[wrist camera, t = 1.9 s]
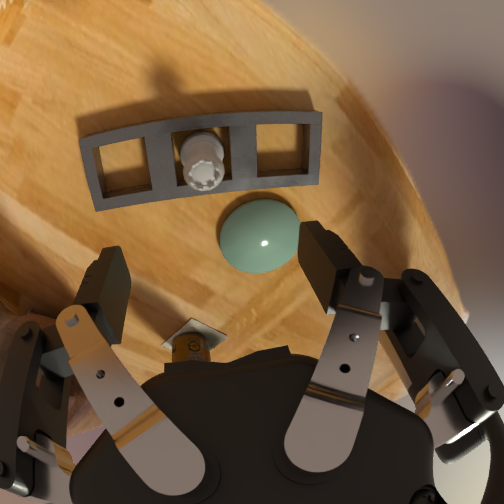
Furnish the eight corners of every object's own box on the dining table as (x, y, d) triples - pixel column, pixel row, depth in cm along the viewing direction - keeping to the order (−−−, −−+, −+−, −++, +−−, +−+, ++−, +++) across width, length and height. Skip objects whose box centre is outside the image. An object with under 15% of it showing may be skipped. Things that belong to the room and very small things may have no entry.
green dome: (302, 195, 31) (304, 197, 31) (297, 263, 37) (299, 267, 36) (215, 203, 30) (216, 206, 29) (223, 274, 36) (223, 278, 35)
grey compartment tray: (314, 110, 26) (322, 112, 24) (311, 178, 30) (318, 184, 29) (85, 135, 22) (78, 139, 21) (100, 204, 27) (95, 211, 25)
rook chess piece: (228, 163, 28) (240, 191, 21) (188, 178, 28) (187, 210, 21) (215, 124, 25) (223, 138, 19) (173, 140, 25) (165, 159, 19)
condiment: (161, 344, 42) (161, 410, 32) (191, 317, 39) (197, 389, 29) (196, 359, 45) (202, 420, 36) (228, 335, 43) (240, 401, 33)
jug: (142, 348, 41) (11, 225, 29) (134, 445, 23) (-69, 272, 11) (87, 398, 42) (-23, 301, 30) (73, 476, 24) (-74, 359, 12)
